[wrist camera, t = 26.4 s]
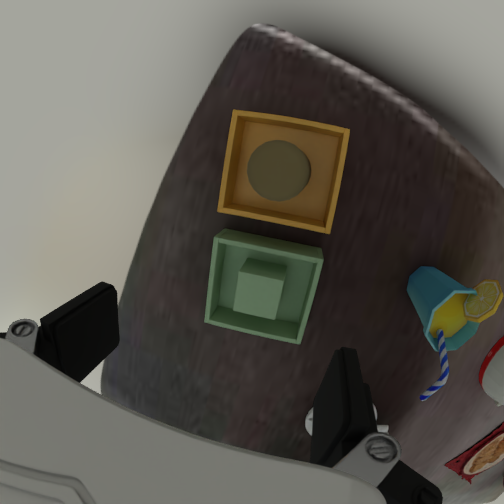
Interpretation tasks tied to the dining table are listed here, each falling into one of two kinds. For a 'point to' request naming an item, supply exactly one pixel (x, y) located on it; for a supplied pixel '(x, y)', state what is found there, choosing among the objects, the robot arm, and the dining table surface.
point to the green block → (259, 288)
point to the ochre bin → (307, 140)
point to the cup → (450, 312)
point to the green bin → (293, 292)
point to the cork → (278, 170)
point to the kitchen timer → (494, 373)
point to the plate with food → (480, 456)
